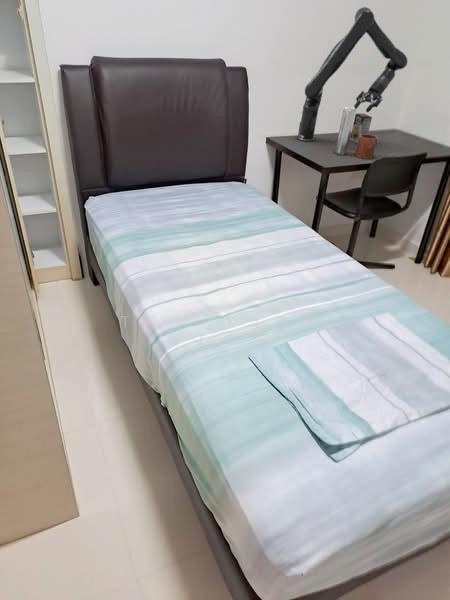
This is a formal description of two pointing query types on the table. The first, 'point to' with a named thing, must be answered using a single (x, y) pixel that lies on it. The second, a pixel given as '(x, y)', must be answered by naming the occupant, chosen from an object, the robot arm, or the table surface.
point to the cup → (366, 146)
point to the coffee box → (360, 126)
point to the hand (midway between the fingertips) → (360, 109)
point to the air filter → (345, 130)
